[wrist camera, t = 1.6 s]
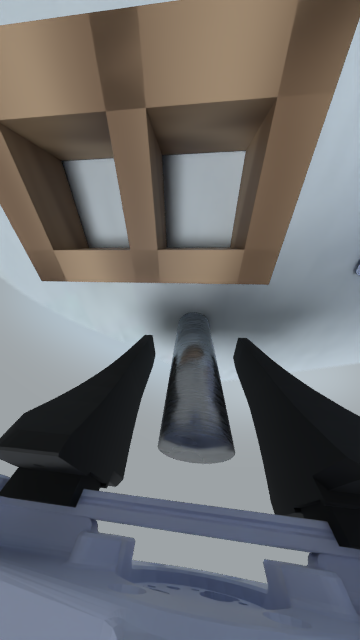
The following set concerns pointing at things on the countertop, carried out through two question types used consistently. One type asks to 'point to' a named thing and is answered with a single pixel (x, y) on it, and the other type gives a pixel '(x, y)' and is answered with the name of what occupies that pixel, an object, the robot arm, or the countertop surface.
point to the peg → (195, 399)
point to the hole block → (166, 125)
